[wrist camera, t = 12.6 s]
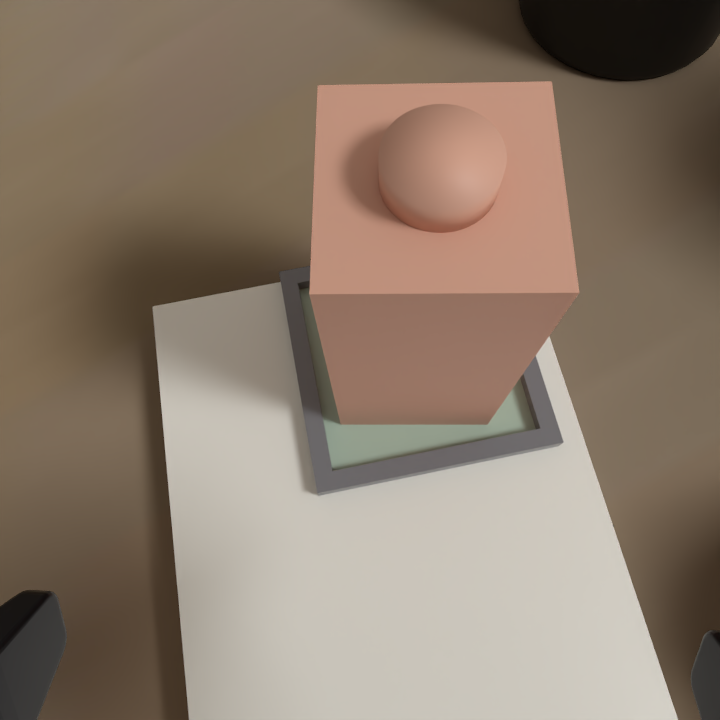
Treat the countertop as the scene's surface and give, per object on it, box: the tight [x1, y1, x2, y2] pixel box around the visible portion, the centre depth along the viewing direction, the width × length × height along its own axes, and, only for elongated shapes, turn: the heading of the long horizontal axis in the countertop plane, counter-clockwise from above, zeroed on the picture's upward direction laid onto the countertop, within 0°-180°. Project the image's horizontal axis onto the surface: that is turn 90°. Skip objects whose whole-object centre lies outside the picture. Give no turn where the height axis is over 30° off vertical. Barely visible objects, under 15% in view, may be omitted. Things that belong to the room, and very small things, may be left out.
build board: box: [153, 266, 678, 720], centre depth 20 cm, size 20×14×2 cm
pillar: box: [309, 81, 579, 425], centre depth 16 cm, size 5×5×11 cm
